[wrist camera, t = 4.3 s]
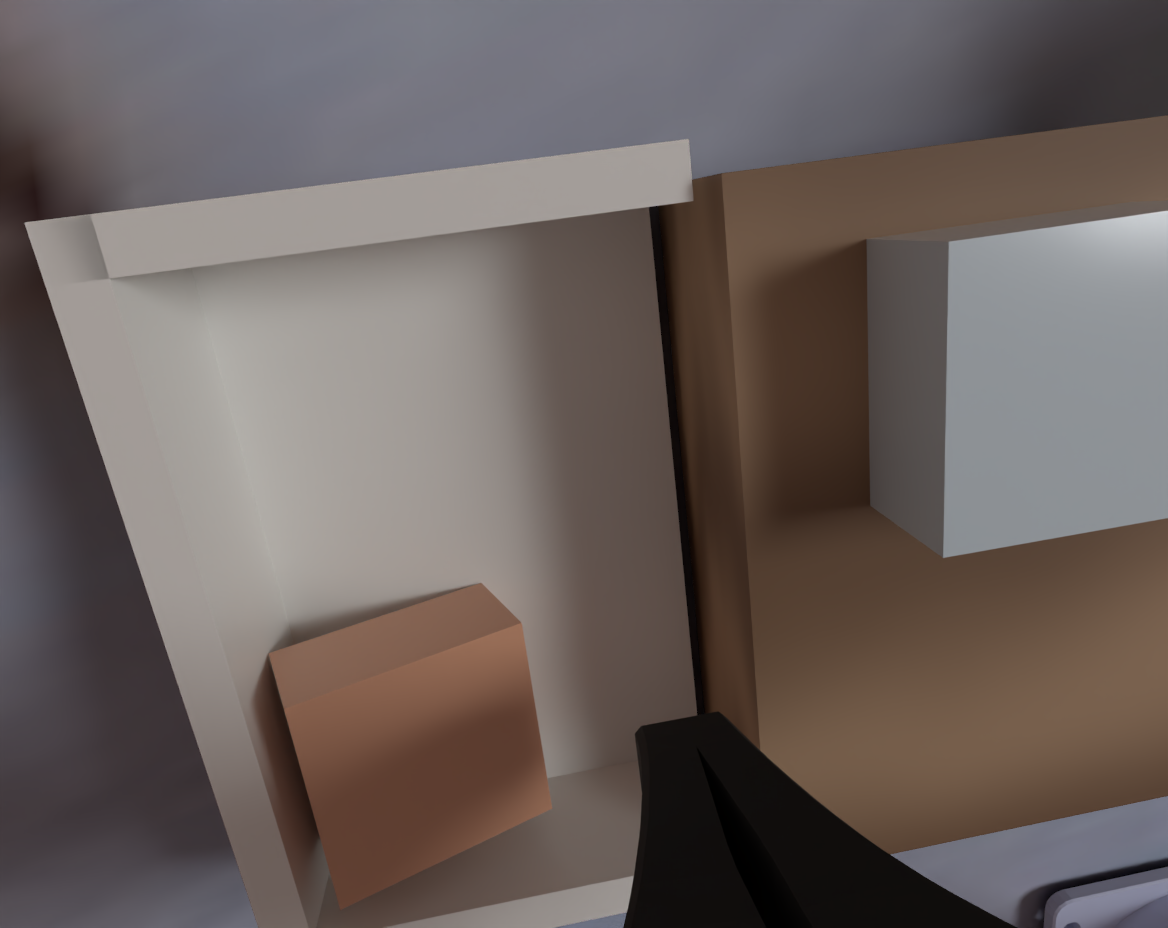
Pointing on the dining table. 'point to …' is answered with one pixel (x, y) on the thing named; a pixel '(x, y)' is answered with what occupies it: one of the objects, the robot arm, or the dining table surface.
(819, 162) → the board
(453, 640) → the tile terracotta
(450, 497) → the tray
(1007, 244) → the grey rectangular prism
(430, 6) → the dining table surface
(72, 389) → the dining table surface
